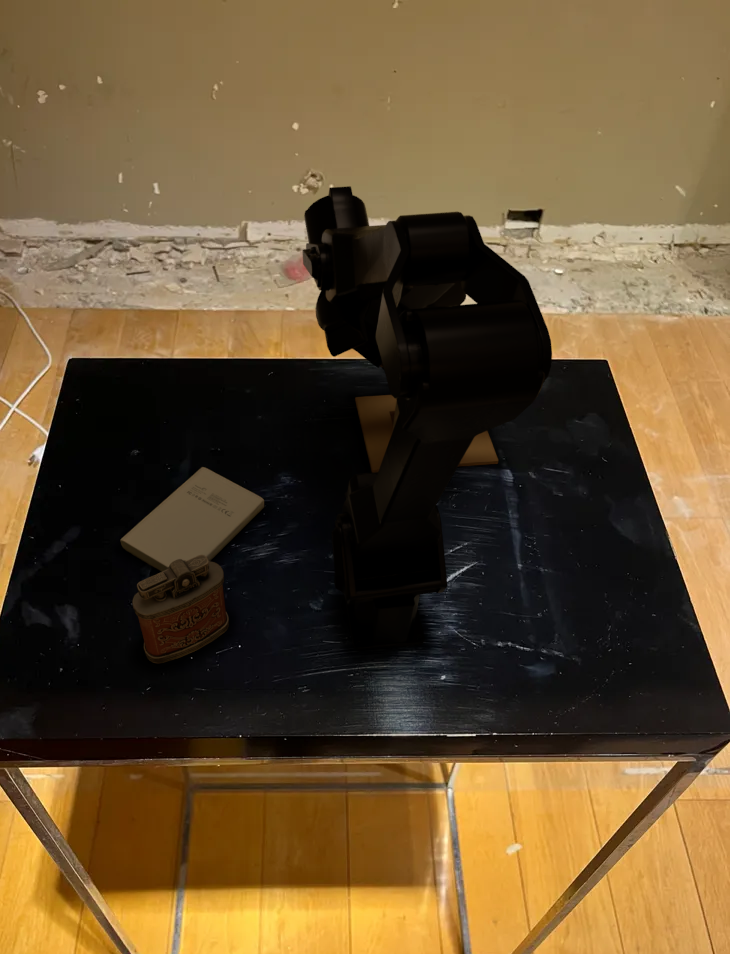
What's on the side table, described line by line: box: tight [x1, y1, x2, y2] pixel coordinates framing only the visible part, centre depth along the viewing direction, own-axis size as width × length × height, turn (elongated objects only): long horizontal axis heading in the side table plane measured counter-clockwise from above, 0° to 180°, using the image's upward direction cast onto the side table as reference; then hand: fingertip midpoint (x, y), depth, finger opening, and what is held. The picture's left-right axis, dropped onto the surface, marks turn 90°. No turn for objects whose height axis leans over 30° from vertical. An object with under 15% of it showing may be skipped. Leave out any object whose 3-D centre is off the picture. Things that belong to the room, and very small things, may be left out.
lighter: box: [132, 555, 230, 664], centre depth 71 cm, size 8×3×10 cm, turn 123°
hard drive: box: [120, 466, 265, 572], centre depth 82 cm, size 2×8×12 cm
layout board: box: [354, 394, 499, 473], centre depth 93 cm, size 12×14×1 cm
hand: (442, 374), depth 88 cm, fingers open, 3 cm apart
